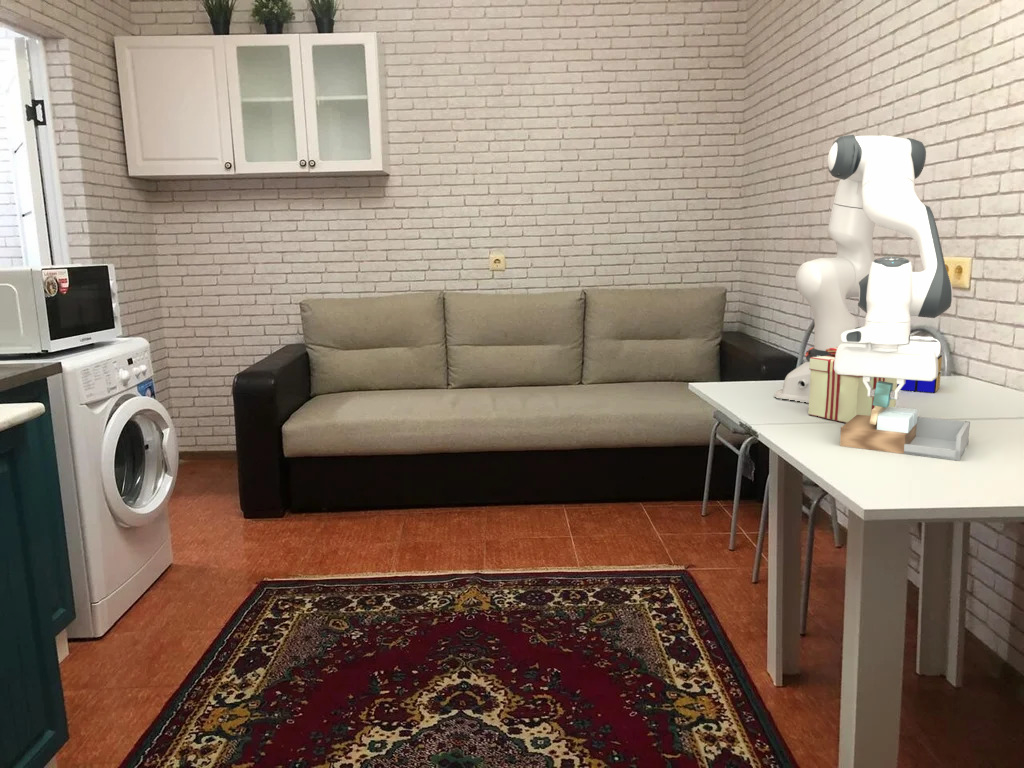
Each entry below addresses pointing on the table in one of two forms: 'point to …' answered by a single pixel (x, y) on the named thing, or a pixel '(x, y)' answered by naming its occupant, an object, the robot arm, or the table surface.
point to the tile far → (904, 412)
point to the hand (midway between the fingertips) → (882, 398)
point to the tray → (939, 438)
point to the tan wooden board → (873, 436)
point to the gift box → (839, 391)
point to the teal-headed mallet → (880, 399)
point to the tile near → (895, 422)
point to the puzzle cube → (924, 383)
